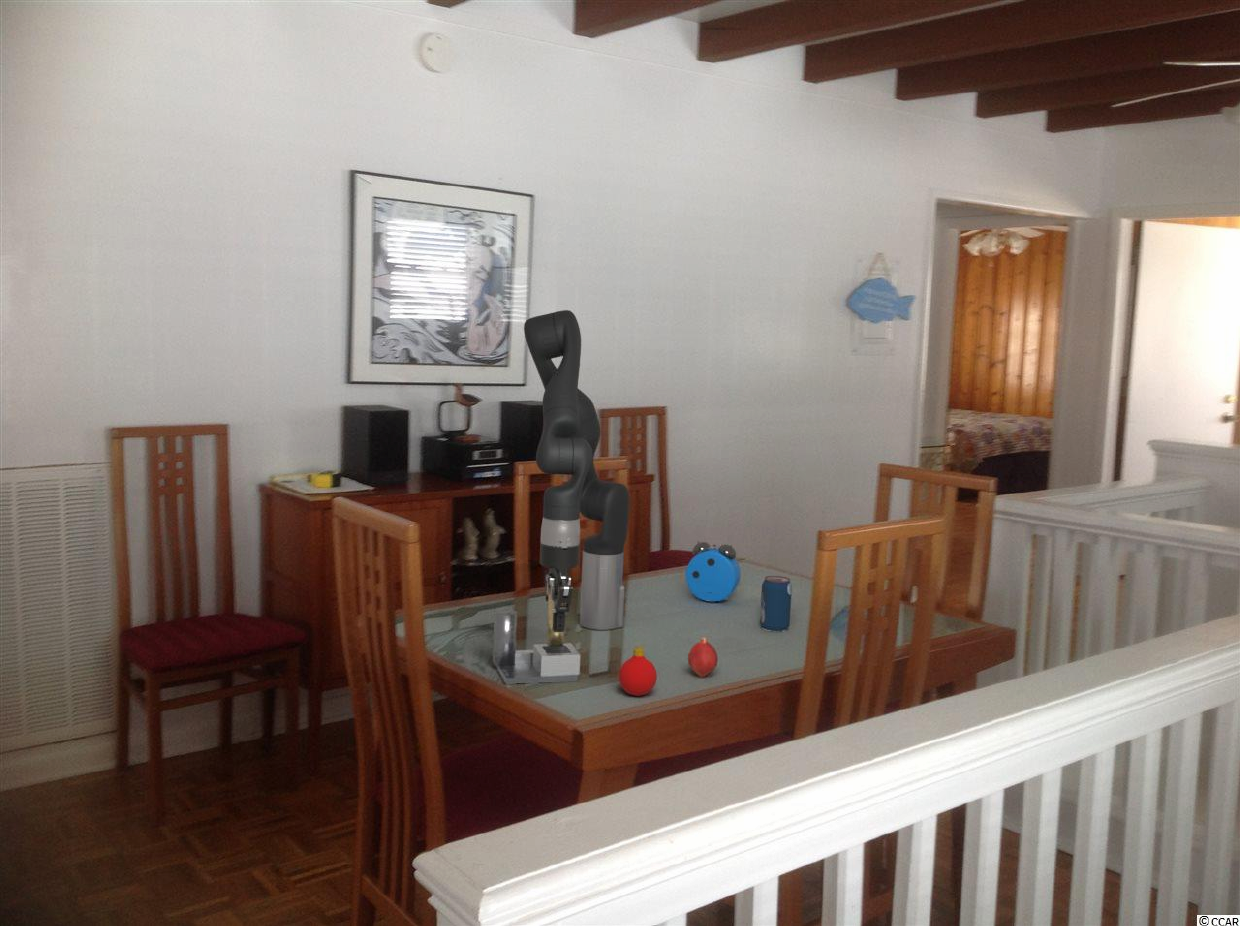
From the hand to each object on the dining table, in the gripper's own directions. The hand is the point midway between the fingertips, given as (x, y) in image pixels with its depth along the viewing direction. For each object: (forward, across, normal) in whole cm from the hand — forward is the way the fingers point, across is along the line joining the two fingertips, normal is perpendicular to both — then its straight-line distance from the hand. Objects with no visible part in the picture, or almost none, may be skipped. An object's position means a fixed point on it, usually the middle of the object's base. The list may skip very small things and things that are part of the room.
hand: (556, 628), depth 208 cm
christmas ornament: (+10, +13, +13) cm, 21 cm away
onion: (+10, +5, +29) cm, 31 cm away
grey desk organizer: (+9, -2, -3) cm, 10 cm away
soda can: (+9, -26, +59) cm, 65 cm away
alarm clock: (+9, -53, +54) cm, 76 cm away
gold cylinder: (+3, 0, 0) cm, 3 cm away
